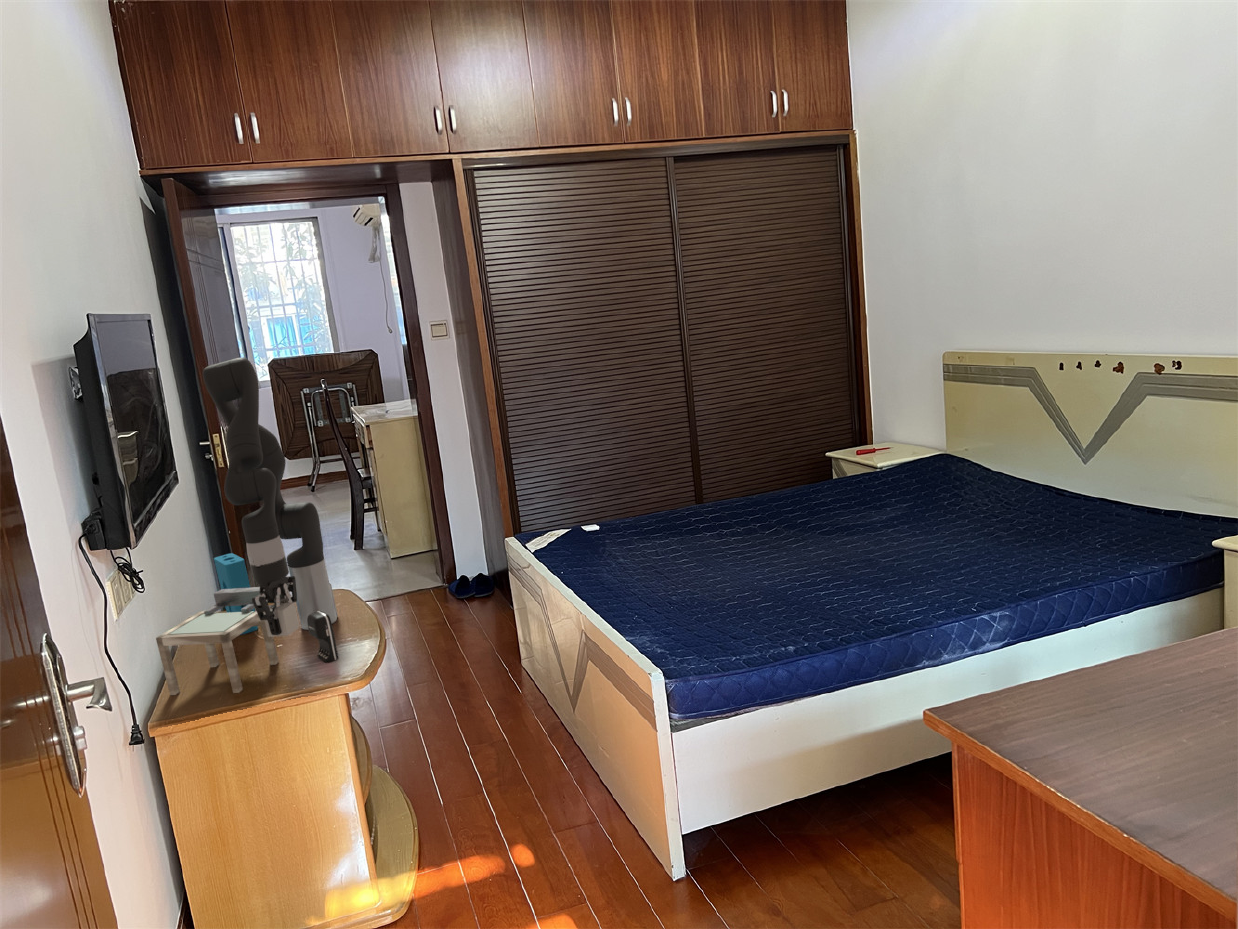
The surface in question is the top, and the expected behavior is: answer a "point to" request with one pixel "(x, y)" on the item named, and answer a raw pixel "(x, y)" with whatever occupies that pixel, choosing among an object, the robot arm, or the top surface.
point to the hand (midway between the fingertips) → (283, 628)
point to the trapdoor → (222, 621)
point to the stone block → (285, 619)
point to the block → (233, 578)
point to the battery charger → (323, 635)
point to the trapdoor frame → (212, 648)
